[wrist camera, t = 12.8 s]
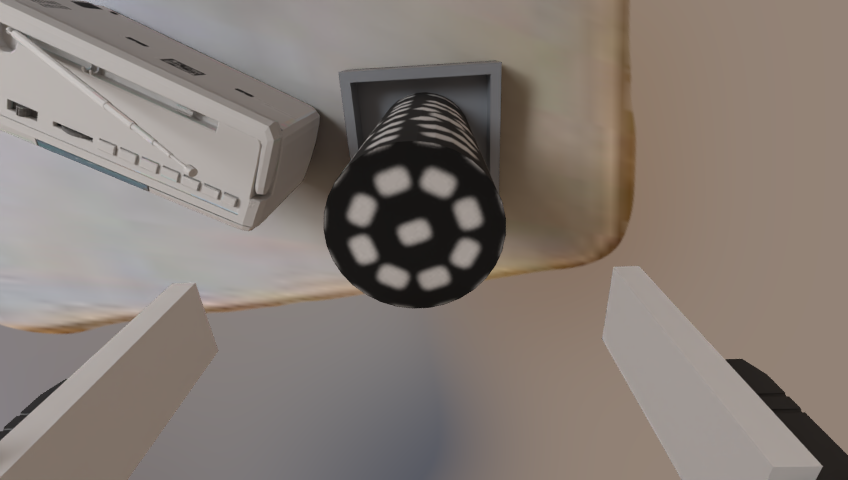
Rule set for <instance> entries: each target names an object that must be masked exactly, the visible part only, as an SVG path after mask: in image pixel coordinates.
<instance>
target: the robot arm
mask: <svg viewBox="0 0 848 480" xmlns="http://www.w3.org/2000/svg"><path fill="white" fill-rule="evenodd" d="M602 340H603V342H604V343H605V345H606V347H607V348H608V350H609V352H610V354H611V356H612V357H613V359H614V361H615V363H616V364H617V366H618V368H619V370H620V372H621V373H622V375H623V377H624V379H625V380H626V382H627V384H628V386H629V388H630V389H631V391H632V393H633V395H634V397H635V398H636V400H637V402H638V404H639V405H640V407H641V409H642V411H643V412H644V414H645V416H646V418H647V419H648V421H649V423H650V425H651V426H652V428H653V430H654V432H655V433H656V435H657V437H658V439H659V441H660V443H661V444H662V446H663V448H664V450H665V451H666V453H667V455H668V457H669V458H670V460H671V462H672V464H673V465H674V467H675V469H676V470H677V473H678V474H679V476H680V478H681V480H848V455H847V454H846V453H845V452H844V451H843V450H842V449H841V448H840V447H839V446H838V445H837V444H836V443H835V442H834V441H833V440H832V439H831V438H830V437H829V436H828V435H827V434H826V433H825V432H824V431H823V430H822V429H821V428H820V427H819V426H818V425H817V424H816V423H815V422H814V421H813V420H812V419H811V418H810V417H809V416H807V414H806V413H802V412H801V409H800V407H799V406H798V405H797V404H796V403H795V402H794V401H793V400H792V399H791V398H790V397H786V395H785V392H784V391H783V390H782V389H781V388H780V387H779V386H778V385H777V384H776V383H775V382H774V381H773V380H772V379H771V378H770V377H769V376H768V375H767V374H765V373H764V372H762V371H760V370H759V369H757V368H756V367H754V366H752V365H751V364H749V363H748V362H746V361H744V360H743V359H724V358H723V357H722V356H721V355H720V354H719V352H718V351H717V350H716V349H715V348H714V347H713V346H712V345H711V344H710V343H709V342H708V340H707V339H706V338H705V337H704V336H703V335H702V334H701V333H700V332H699V331H698V330H697V328H696V327H695V326H694V325H693V324H692V323H691V322H690V321H689V320H688V319H687V318H686V317H685V315H684V314H683V313H682V312H681V311H680V310H679V309H678V308H677V307H676V306H675V305H674V303H673V302H672V301H671V300H670V299H669V298H668V297H667V296H666V295H665V294H664V293H663V291H662V290H661V289H660V288H659V287H658V286H657V285H656V284H655V283H654V282H653V281H652V280H651V278H650V277H649V276H648V275H647V274H646V273H645V272H644V271H643V270H642V269H641V267H640V266H622V267H621V266H620V267H613V272H612V278H611V285H610V292H609V298H608V304H607V311H606V317H605V324H604V330H603V337H602ZM217 352H218V348H217V345H216V342H215V339H214V336H213V333H212V331H211V328H210V325H209V322H208V319H207V316H206V313H205V310H204V307H203V304H202V301H201V298H200V295H199V292H198V289H197V286H196V284H195V283H177V284H171V285H170V286H169V287H168V288H167V289H166V290H165V291H163V292H162V293H161V294H160V295H159V296H158V297H157V298H156V299H155V300H154V301H153V302H151V303H150V304H149V305H148V306H147V307H146V308H145V309H144V310H143V311H142V312H140V313H139V314H138V315H137V316H136V317H135V318H134V319H133V320H132V321H131V322H130V323H129V324H127V326H125V327H124V328H123V329H122V330H121V331H120V332H119V333H118V334H116V335H115V336H114V337H113V338H112V339H111V340H110V341H109V342H108V343H107V344H106V345H105V346H103V347H102V348H101V349H100V350H99V351H98V352H97V353H96V354H95V355H93V356H92V357H91V358H90V359H89V360H88V361H87V362H86V363H85V364H84V365H83V366H82V367H80V368H79V369H78V370H77V371H76V372H75V373H74V374H73V375H72V376H70V377H69V379H65V380H63V381H62V382H60V383H59V384H57V385H56V386H54V387H52V388H51V389H49V390H47V391H46V392H44V393H43V394H41V395H40V396H39V397H38V398H36V400H34V401H33V402H32V403H31V404H30V405H29V406H28V407H26V408H25V409H24V410H23V411H22V412H21V415H20V416H16V417H15V418H14V419H13V420H12V421H11V422H10V423H8V424H7V425H6V426H5V427H4V430H3V431H1V432H0V480H128V478H129V477H130V476H131V474H132V472H133V471H134V470H135V468H136V467H137V466H138V464H139V463H140V461H141V460H142V459H143V457H144V456H145V454H146V453H147V451H148V450H149V448H150V447H151V446H152V444H153V443H154V442H155V440H156V439H157V437H158V436H159V434H160V433H161V431H162V430H163V429H164V427H165V426H166V424H167V423H168V422H169V420H170V419H171V417H172V416H173V415H174V413H175V412H176V410H177V409H178V407H179V406H180V404H181V403H182V402H183V400H184V399H185V397H186V396H187V395H188V393H189V391H190V390H191V389H192V388H193V386H194V385H195V383H196V382H197V380H198V379H199V378H200V376H201V375H202V373H203V372H204V370H205V369H206V368H207V366H208V365H209V363H210V362H211V361H212V359H213V358H214V356H215V355H216V353H217Z"/></svg>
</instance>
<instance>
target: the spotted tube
mask: <svg viewBox="0 0 848 480" xmlns="http://www.w3.org/2000/svg"><path fill="white" fill-rule="evenodd" d="M324 234H325V239H326V244H327V247H328V250H329V252H330V254H331V257H332V259H333V261H334V263H335V264H336V266H337V267H338V269H339V270H340V272H341V273H342V274H343V275H344V276H345V277H346V278H347V280H348V281H349V282H350V283H351V284H352V285H353V286H355V287H356V288H358V289H359V290H360V291H362V292H363V293H365V294H366V295H368V296H370V297H372V298H374V299H376V300H378V301H380V302H383V303H387V304H390V305H394V306H397V307H406V308H429V307H435V306H439V305H444V304H447V303H449V302H452V301H454V300H457V299H459V298H461V297H463V296H464V295H466V294H467V293H469V292H471V291H472V290H474V289H475V288H476V287H477V286H478V285H479V284H481V283H482V282H483V281H484V280H485V279H486V278H487V276H488V275H489V274H490V272H491V271H492V269H493V268H494V267H495V265H496V263H497V261H498V259H499V257H500V254H501V252H502V249H503V244H504V240H505V236H506V217H505V213H504V208H503V203H502V200H501V198H500V196H499V193H498V191H497V189H496V186H495V184H494V182H493V179H492V177H491V175H490V172H489V170H488V168H487V165H486V163H485V161H484V158H483V156H482V154H481V151H480V149H479V147H478V144H477V142H476V140H475V137H474V135H473V133H472V130H471V128H470V126H469V123H468V121H467V119H466V117H465V115H464V114H463V112H462V111H461V109H460V108H459V107H458V106H457V105H456V104H455V103H454V102H452V101H451V100H449V99H447V98H446V97H444V96H441V95H438V94H436V93H428V92H422V93H414V94H411V95H407V96H405V97H404V98H402V99H400V100H398V101H397V102H396V103H395V104H393V105H392V106H391V107H390V109H389V110H388V111H387V112H386V114H385V115H384V116H383V118H382V119H381V120H380V122H379V123H378V124H377V126H376V127H375V128H374V130H373V131H372V133H371V134H370V135H369V137H368V138H367V139H366V141H365V142H364V143H363V145H362V146H361V147H360V149H359V150H358V151H357V153H356V154H355V156H354V157H353V158H352V160H351V161H350V162H349V164H348V165H347V166H346V168H345V169H344V170H343V172H342V173H341V174H340V176H339V177H338V179H337V180H336V181H335V183H334V185H333V187H332V189H331V191H330V193H329V195H328V199H327V203H326V207H325V211H324Z"/></svg>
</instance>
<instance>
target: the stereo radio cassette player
mask: <svg viewBox="0 0 848 480" xmlns="http://www.w3.org/2000/svg"><path fill="white" fill-rule="evenodd" d="M319 123H320V115H319V114H318V113H317V111H316V109H315V108H314V107H313V106H310V105H308V104H306V103H304V102H302V101H300V100H298V99H296V98H294V97H292V96H290V95H288V94H285V93H283V92H281V91H279V90H277V89H275V88H273V87H271V86H269V85H267V84H265V83H263V82H260V81H258V80H256V79H254V78H252V77H250V76H248V75H246V74H244V73H242V72H240V71H238V70H235V69H233V68H231V67H229V66H227V65H225V64H223V63H221V62H219V61H217V60H215V59H213V58H210V57H208V56H206V55H204V54H202V53H200V52H198V51H196V50H194V49H192V48H190V47H188V46H185V45H183V44H181V43H179V42H177V41H175V40H173V39H171V38H169V37H167V36H165V35H163V34H160V33H158V32H156V31H154V30H152V29H150V28H148V27H146V26H144V25H142V24H140V23H138V22H135V21H133V20H131V19H129V18H127V17H125V16H123V15H121V14H119V13H117V12H115V11H113V10H110V9H108V8H106V7H104V6H99V5H94V4H91V3H89V2H86V1H78V0H0V130H1V131H4V132H6V133H8V134H11V135H13V136H16V137H18V138H21V139H23V140H25V141H28V142H30V143H33V144H35V145H38V146H40V147H43V148H45V149H47V150H50V151H52V152H54V153H57V154H59V155H62V156H64V157H67V158H69V159H72V160H74V161H76V162H79V163H81V164H84V165H86V166H88V167H91V168H93V169H96V170H98V171H100V172H103V173H105V174H108V175H110V176H112V177H115V178H117V179H120V180H122V181H124V182H127V183H129V184H131V185H134V186H136V187H139V188H141V189H143V190H146V191H150V192H151V193H153V194H156V195H158V196H160V197H163V198H165V199H168V200H170V201H172V202H175V203H177V204H180V205H182V206H184V207H187V208H189V209H192V210H194V211H196V212H199V213H201V214H204V215H206V216H208V217H211V218H213V219H216V220H218V221H220V222H223V223H225V224H227V225H230V226H233V227H235V228H238V229H240V230H245V231H250V230H253V229H254V228H255V227H257V226H259V225H260V224H261V223H262V222H263V221H264V220H265V219H266V218H267V217H268V216H269V215H270V214H271V213H272V212H273V211H274V210H275V209H276V208H277V207H278V206H279V205H280V204H281V203H282V202H283V201H284V200H285V199H286V197H287V196H288V195H289V194H290V193H291V192H292V191H293V190H294V189H295V188H296V187H297V186H298V185H299V184H300V183H301V182H302V181H303V180H304V177H305V174H306V171H307V169H308V166H309V163H310V160H311V157H312V153H313V150H314V146H315V143H316V138H317V133H318V128H319Z"/></svg>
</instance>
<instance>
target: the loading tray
mask: <svg viewBox="0 0 848 480" xmlns="http://www.w3.org/2000/svg"><path fill="white" fill-rule="evenodd" d="M501 64H502V62H499V61H483V62H467V63H450V64H434V65H418V66H402V67H386V68H370V69H353V70H345V71H341V72H339V80H340V87H341V95H342V102H343V109H344V117H345V124H346V132H347V139H348V147H349V154H350V161H351V160H352V158H353V157H354V156H355V154H356V153H357V151H358V150H359V149H360V147H361V146H362V145H363V143H364V142H365V141H366V139H367V138H368V137H369V135H370V134H371V133H372V131H373V130H374V128H375V127H376V126H377V124H378V123H379V122H380V120H381V119H382V118H383V116H384V115H385V114H386V112H387V111H388V110H389V109H390V107H391V106H392V105H393V104H395V103H396V102H397V101H398V100H400V99H402V98H404V97H405V96H407V95H411V94H414V93H422V92H428V93H436V94H438V95H441V96H444V97H446V98H447V99H449V100H451V101H452V102H454V103H455V104H456V105H457V106H458V107H459V108H460V109H461V111H462V112H463V114H464V115H465V117H466V119H467V121H468V123H469V126H470V128H471V130H472V133H473V135H474V137H475V140H476V142H477V144H478V147H479V149H480V151H481V154H482V156H483V158H484V161H485V163H486V165H487V168H488V170H489V172H490V175H491V177H492V179H493V182H494V184H495V186H496V189H497V191H498V193H499V168H500V116H501Z"/></svg>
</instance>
